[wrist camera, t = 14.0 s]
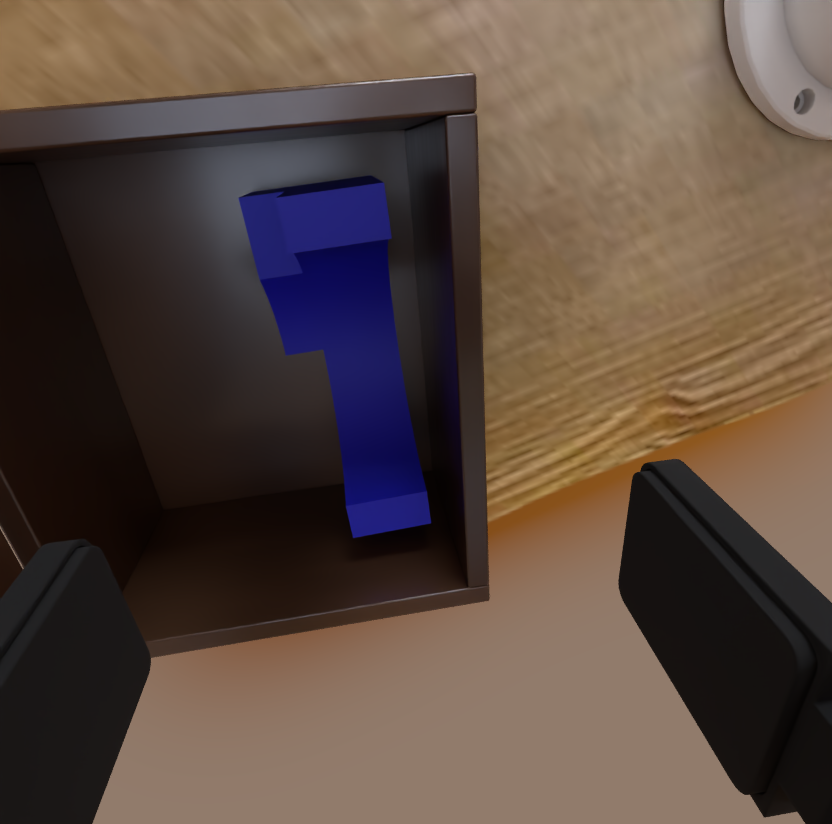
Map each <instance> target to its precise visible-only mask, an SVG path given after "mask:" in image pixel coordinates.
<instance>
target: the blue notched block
mask: <svg viewBox="0 0 832 824" xmlns="http://www.w3.org/2000/svg"><path fill="white" fill-rule="evenodd" d="M239 202H240V206H241V210H242V214H243V218H244V222H245V226H246V229H247V233H248V237H249V241H250V245H251V249H252V253H253V257H254V260H255V264H256V268H257V272H258V276H259V280H260V282H261V284H262V286H263V288H264V290H265V293H266V295H267V297H268V300H269V302H270V305H271V308H272V311H273V313H274V316H275V319H276V322H277V326H278V329H279V332H280V336H281V339H282V343H283V346H284V350H285V354H286V356H287V355H293V354H299V353H305V352H311V351H317V350H323V351H324V355H325V360H326V365H327V370H328V375H329V380H330V386H331V391H332V397H333V402H334V408H335V414H336V421H337V427H338V434H339V441H340V448H341V456H342V465H343V474H344V485H345V499H346V509H347V514H348V518H349V522H350V527H351V531H352V535H353V538H356V537H361V536H367V535H372V534H377V533H383V532H388V531H393V530H398V529H404V528H409V527H414V526H420V525H425V524H430V523H431V519H430V512H429V504H428V497H427V491H426V487H425V483H424V479H423V475H422V471H421V466H420V462H419V457H418V453H417V448H416V443H415V439H414V434H413V429H412V424H411V418H410V413H409V408H408V402H407V397H406V391H405V385H404V379H403V373H402V367H401V361H400V355H399V348H398V342H397V335H396V328H395V321H394V313H393V305H392V297H391V288H390V278H389V265H388V240H389V239H392V237H391V230H390V222H389V215H388V208H387V201H386V193H385V186H384V182H382V181H380V180H379V179H377V178H375V177H373V176H371V175H369V176H362V177H355V178H348V179H341V180H334V181H327V182H320V183H312V184H305V185H298V186H291V187H284V188H277V189H270V190H263V191H256V192H251V193H248V194H246V195H244V196H242V197H239Z"/></svg>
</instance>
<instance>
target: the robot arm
mask: <svg viewBox="0 0 832 824" xmlns="http://www.w3.org/2000/svg"><path fill="white" fill-rule="evenodd" d="M724 12H725V21H726V30H727V38H728V46H729V49H730V53H731V56H732V59H733V63H734V66H735V69H736V72H737V76H738V78H739V80H740V81H741V83H742V85H743V87H744V89H745V90H746V92H747V94H748V96H749V98H750V99H751V101H752V102H753V103H754V104H755V106H756V107H757V108H758V109H759V110H760V111H761V112H762V113H763V114H764V115H765V116H766V117H767V118H768V120H770V121H771V122H773V123H774V124H776V125H778V126H779V127H781V128H783V129H784V130H786V131H787V132H789V133H791V134H795V135H798V136H802V137H806V138H809V139H813V140H832V0H725V1H724ZM619 590H620V594H621V597H622V599H623V601H624V603H625V605H626V607H627V608H628V610H629V612H630V613H631V615H632V617H633V618H634V620H635V622H636V623H637V625H638V627H639V628H640V630H641V632H642V633H643V635H644V637H645V638H646V640H647V642H648V643H649V645H650V647H651V648H652V650H653V652H654V653H655V655H656V657H657V658H658V660H659V662H660V663H661V665H662V667H663V668H664V670H665V671H666V673H667V675H668V676H669V678H670V680H671V682H672V683H673V685H674V686H675V688H676V690H677V691H678V693H679V695H680V696H681V698H682V700H683V701H684V703H685V705H686V706H687V708H688V709H689V711H690V713H691V715H692V716H693V718H694V720H695V721H696V723H697V725H698V726H699V728H700V730H701V731H702V733H703V734H704V736H705V738H706V739H707V741H708V743H709V745H710V746H711V748H712V750H713V751H714V753H715V755H716V756H717V758H718V760H719V761H720V763H721V765H722V766H723V768H724V770H725V771H726V773H727V775H728V776H729V778H730V780H731V781H732V783H733V784H734V786H735V787H736V788H737V789H738V790H739V791H740V792H741V793H743V794H744V795H749V794H750V795H751V797H752V799H753V800H754V802H755V803H756V805H757V807H758V808H759V810H760V812H761V813H762V815H763V816H764V817H770V816H775V815H780V814H786V813H791V812H798V813H799V815H800V816H801V817H802V819H803V821H804V822H805V824H832V603H831V602H830V601H829V600H828V599H827V598H826V597H825V596H824V595H823V594H822V593H821V592H820V591H819V590H818V589H816V588H815V587H814V586H813V585H812V584H811V583H810V582H809V581H808V580H807V579H806V578H805V577H804V576H803V575H802V574H801V573H800V572H798V570H796V569H795V568H794V567H793V566H792V565H791V564H790V563H789V562H788V561H787V560H786V559H785V558H784V557H783V556H782V555H781V554H780V553H779V552H777V551H776V550H775V549H774V548H773V547H772V546H771V545H770V544H769V543H768V542H767V541H766V540H765V539H764V538H763V537H762V536H761V535H759V533H757V532H756V531H755V530H754V529H753V528H752V527H751V526H750V525H749V524H748V523H747V522H746V521H745V520H744V519H743V518H742V517H740V515H738V514H737V513H736V512H735V511H734V510H733V509H732V508H731V507H730V506H729V505H728V504H727V503H726V502H725V501H724V500H723V499H722V498H721V497H720V496H718V495H717V494H716V493H715V492H714V491H713V490H712V489H711V488H710V487H709V486H708V485H707V484H706V483H705V482H704V481H703V480H702V479H701V478H700V477H698V476H697V475H696V474H695V473H694V472H693V471H692V470H691V469H690V468H689V467H688V466H687V465H686V464H685V463H684V462H682V461H681V460H679V459H672V460H664V461H657V462H649V463H645V464H644V465H643V466H642V468H641V471H640V472H637V473H635V474H634V475H633V479H632V485H631V492H630V501H629V507H628V515H627V522H626V529H625V536H624V545H623V551H622V559H621V566H620V573H619ZM150 665H151V657H150V652H149V649H148V647H147V645H146V643H145V641H144V639H143V636H142V634H141V632H140V630H139V628H138V626H137V624H136V622H135V619H134V617H133V615H132V613H131V611H130V609H129V607H128V605H127V602H126V600H125V598H124V596H123V594H122V592H121V590H120V588H119V585H118V583H117V581H116V579H115V577H114V575H113V573H112V571H111V568H110V566H109V564H108V562H107V560H106V558H105V556H104V553H103V552H102V550H101V548H99V547H98V546H92V545H91V544H90V542H88V541H87V540H86V539H76V540H69V541H61V542H54V543H47V544H45V545H43V546H42V547H41V548H40V549H39V550H38V551H37V552H36V553H35V555H34V556H33V557H32V559H31V560H30V561H29V562H28V564H27V565H26V566H25V568H24V569H23V570H22V572H21V573H20V574H19V575H18V577H17V578H16V579H15V581H14V582H13V583H12V585H11V586H10V587H9V589H8V590H7V591H6V592H5V594H4V595H3V596H2V598H1V599H0V824H92V823H93V820H94V818H95V815H96V812H97V810H98V807H99V804H100V802H101V799H102V796H103V794H104V791H105V788H106V786H107V783H108V781H109V778H110V775H111V773H112V770H113V767H114V765H115V762H116V759H117V757H118V754H119V752H120V749H121V746H122V744H123V741H124V738H125V736H126V733H127V730H128V728H129V725H130V722H131V719H132V717H133V714H134V712H135V709H136V706H137V704H138V701H139V699H140V696H141V693H142V691H143V688H144V685H145V683H146V680H147V677H148V675H149V671H150Z"/></svg>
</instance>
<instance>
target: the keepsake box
mask: <svg viewBox="0 0 832 824" xmlns="http://www.w3.org/2000/svg"><path fill="white" fill-rule="evenodd" d="M476 109H477V90H476V76H475V74H474V73H462V74H450V75H437V76H425V77H412V78H400V79H387V80H375V81H362V82H350V83H337V84H324V85H312V86H299V87H287V88H274V89H262V90H249V91H237V92H224V93H212V94H199V95H187V96H174V97H162V98H149V99H137V100H124V101H111V102H99V103H86V104H74V105H61V106H49V107H36V108H24V109H11V110H0V526H1V528H2V530H3V532H4V533H5V535H6V537H7V539H8V541H9V542H10V544H11V546H12V548H13V550H14V551H15V553H16V555H17V557H18V559H19V560H20V562H21V564H22V566H23V568H25V566H26V565H27V564H28V562H29V561H30V560H31V559H32V557H33V556H34V555H35V553H36V552H37V551H38V550H39V549H40V548H41V547H42V546H43V545H45V544H47V543H54V542H61V541H69V540H76V539H86V540H87V541H88V542H90V544H91V545H92V546H98V547H99V548H101V550H102V552H103V553H104V556H105V558H106V560H107V562H108V564H109V566H110V568H111V571H112V573H113V575H114V577H115V579H116V581H117V583H118V585H119V588H120V590H121V592H122V594H123V596H124V598H125V600H126V602H127V605H128V607H129V609H130V611H131V613H132V615H133V617H134V619H135V622H136V624H137V626H138V628H139V630H140V632H141V634H142V636H143V639H144V641H145V643H146V645H147V647H148V649H149V652H150V657H151V658H153V657H159V656H165V655H171V654H176V653H182V652H188V651H194V650H200V649H206V648H212V647H218V646H224V645H230V644H236V643H241V642H247V641H253V640H259V639H265V638H270V637H277V636H283V635H289V634H295V633H301V632H307V631H312V630H318V629H324V628H330V627H336V626H342V625H347V624H354V623H360V622H366V621H371V620H377V619H383V618H389V617H394V616H401V615H407V614H412V613H419V612H425V611H431V610H436V609H442V608H448V607H454V606H460V605H466V604H471V603H478V602H484V601H489V566H488V525H487V485H486V445H485V405H484V366H483V326H482V286H481V246H480V206H479V166H478V126H477V115H476V113H474V112H475V111H476ZM369 175H371V176H373V177H375V178H377V179H379V180H380V181H382V182H384V186H385V193H386V201H387V208H388V215H389V222H390V230H391V237H392V239H389V240H388V265H389V278H390V288H391V297H392V305H393V313H394V321H395V328H396V335H397V342H398V348H399V355H400V361H401V367H402V373H403V379H404V385H405V391H406V397H407V402H408V408H409V413H410V418H411V424H412V429H413V434H414V439H415V443H416V448H417V453H418V457H419V462H420V466H421V471H422V475H423V479H424V483H425V487H426V491H427V497H428V504H429V512H430V519H431V523H430V524H425V525H420V526H414V527H409V528H404V529H398V530H393V531H388V532H383V533H377V534H372V535H367V536H361V537H356V538H353V535H352V531H351V527H350V522H349V518H348V514H347V509H346V499H345V485H344V474H343V465H342V456H341V448H340V441H339V434H338V427H337V421H336V414H335V408H334V402H333V397H332V391H331V386H330V380H329V375H328V370H327V365H326V360H325V355H324V351H323V350H317V351H311V352H305V353H299V354H293V355H287V356H286V354H285V350H284V346H283V343H282V339H281V336H280V332H279V329H278V326H277V322H276V319H275V316H274V313H273V311H272V308H271V305H270V302H269V300H268V297H267V295H266V293H265V290H264V288H263V286H262V284H261V282H260V280H259V276H258V272H257V268H256V264H255V260H254V257H253V253H252V249H251V245H250V241H249V237H248V233H247V229H246V226H245V222H244V218H243V214H242V210H241V206H240V202H239V197H242V196H244V195H246V194H248V193H251V192H256V191H263V190H270V189H277V188H284V187H291V186H298V185H305V184H312V183H320V182H327V181H334V180H341V179H348V178H355V177H362V176H369Z"/></svg>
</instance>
